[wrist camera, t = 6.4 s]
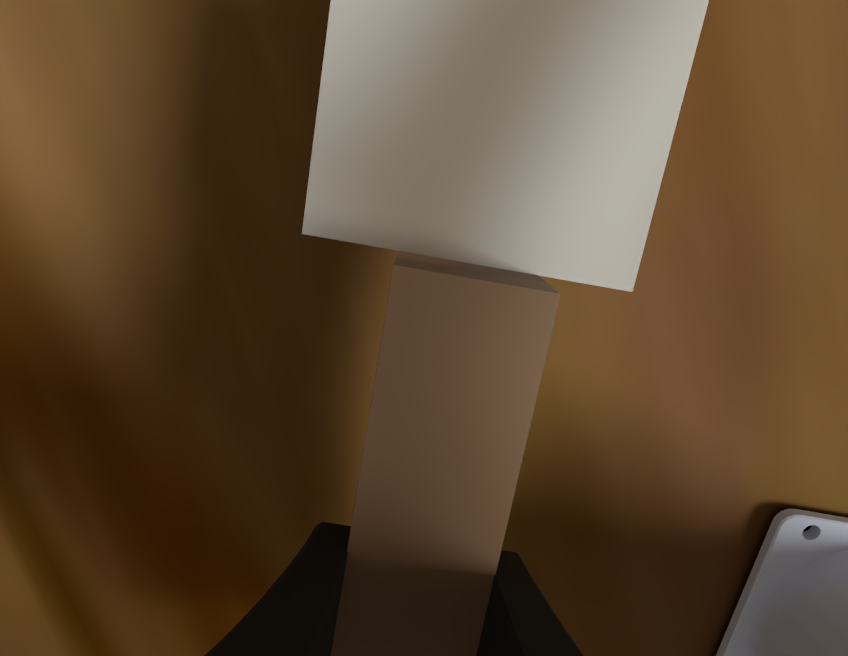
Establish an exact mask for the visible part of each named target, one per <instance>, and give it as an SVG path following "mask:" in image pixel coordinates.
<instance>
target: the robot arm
mask: <svg viewBox="0 0 848 656" xmlns="http://www.w3.org/2000/svg"><path fill="white" fill-rule="evenodd" d="M810 525H812V526H811V528H810V529H809V530H807V531H805V532H803V530H804V529H805V528H806V527H808V526H810ZM350 529H351V526H345V525H339V524H332V523H326V522H322V523H320V524H318V525H317V526H316V527H315V528H314V530H313V532H312V534H311V535H310V537H309V538H308V540H307V541H306V543H305V544H304V546H303V547H302V549H301V550H300V552H299V553H298V554H297V556H296V557H295V558H294V560H293V561H292V562H291V564H290V565H289V566H288V567H287V569H286V570H285V571H284V572H283V574H282V575H281V576H280V577H279V578H278V580H277V581H276V582H275V583H274V584H273V585H272V587H271V588H270V589H269V590H268V591H267V593H266V594H265V595H264V596H263V597H262V598H261V599H260V601H259V602H258V603H257V604H256V605H255V606H254V607H253V608H252V609H251V610H250V611H249V612H248V613H247V614H246V615H245V616H244V617H243V619H242V620H241V621H240V622H239V623H238V624H237V625H236V626H235V627H234V628H233V629H232V630H231V631H230V632H229V633H228V634H227V635H226V636H225V637H224V638H223V639H222V640H221V641H220V642H219V643H218V644H217V645H216V646H215V647H214V648H212V649H211V650H210V651H209V652H208V653H207V654H206V655H205V656H330V655H331V650H332V644H333V638H334V632H335V626H336V620H337V614H338V609H339V603H340V597H341V591H342V585H343V579H344V574H345V568H346V562H347V556H348V552H347V548H348V541H349V535H350ZM476 656H583V654H582V653H581V652H580V650H579V649H578V647H577V646H576V644H575V643H574V641H573V640H572V638H571V637H570V635H569V634H568V632H567V631H566V629H565V628H564V627H563V625H562V624H561V622H560V621H559V619H558V617H557V616H556V614H555V613H554V611H553V610H552V608H551V607H550V605H549V603H548V602H547V600H546V599H545V597H544V595H543V594H542V592H541V591H540V589H539V587H538V586H537V584H536V582H535V581H534V579H533V577H532V576H531V574H530V573H529V571H528V569H527V568H526V566H525V564H524V563H523V561H522V559H521V558H520V556H519V555H518V553H515V552H509V551H502V550H501V554H500V558H499V562H498V567H497V571H496V575H494V579H493V584H492V588H491V592H490V597H489V601H488V606H487V610H486V614H485V619H484V623H483V628H482V632H481V636H480V641H479V645H478V650H477V654H476ZM716 656H848V518H846V517H840V516H834V515H828V514H822V513H816V512H811V511H805V510H799V509H786V510H783V511H781V512H779V513H778V514H777V515H776V516H775V517H774V519H773V520H772V523H771V525H770V527H769V530H768V532H767V535H766V537H765V539H764V542H763V544H762V546H761V549H760V551H759V554H758V556H757V558H756V561H755V563H754V566H753V568H752V570H751V573H750V575H749V578H748V580H747V582H746V585H745V587H744V589H743V592H742V594H741V597H740V599H739V601H738V604H737V606H736V609H735V611H734V613H733V616H732V618H731V621H730V623H729V625H728V628H727V630H726V633H725V635H724V637H723V640H722V642H721V644H720V647H719V649H718V652H717V654H716Z"/></svg>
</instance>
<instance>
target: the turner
mask: <svg viewBox="0 0 848 656" xmlns="http://www.w3.org/2000/svg"><path fill="white" fill-rule="evenodd" d="M708 2H709V0H331V2H330V10H329V18H328V26H327V34H326V42H325V50H324V58H323V67H322V75H321V83H320V91H319V99H318V107H317V115H316V123H315V131H314V139H313V147H312V155H311V163H310V171H309V179H308V187H307V196H306V204H305V212H304V220H303V228H302V234H305V235H311V236H317V237H322V238H328V239H334V240H340V241H345V242H351V243H357V244H362V245H368V246H374V247H379V248H385V249H391V250H396V251H399V253H398V256H397V258H396V260H395V263H394V265H393V271H392V277H391V283H390V289H389V296H388V302H387V308H386V314H385V320H384V326H383V332H382V339H381V345H380V351H379V357H378V363H377V369H376V376H375V382H374V388H373V394H372V400H371V406H370V412H369V419H368V425H367V431H366V437H365V443H364V449H363V455H362V462H361V468H360V474H359V480H358V486H357V492H356V498H355V505H354V511H353V517H352V523H351V529H350V535H349V541H348V548H347V552H348V556H347V562H346V568H345V574H344V579H343V585H342V591H341V597H340V603H339V609H338V614H337V620H336V626H335V632H334V638H333V644H332V650H331V655H330V656H476V654H477V650H478V645H479V641H480V636H481V632H482V628H483V623H484V619H485V614H486V610H487V606H488V601H489V597H490V592H491V588H492V584H493V579H494V575H496V571H497V567H498V562H499V558H500V554H501V549H502V545H503V541H504V537H505V532H506V528H507V524H508V519H509V515H510V511H511V507H512V502H513V498H514V494H515V489H516V485H517V481H518V477H519V472H520V468H521V464H522V459H523V455H524V451H525V447H526V442H527V438H528V434H529V429H530V425H531V421H532V417H533V412H534V408H535V404H536V399H537V395H538V391H539V387H540V382H541V378H542V374H543V369H544V365H545V361H546V357H547V352H548V348H549V344H550V339H551V335H552V331H553V327H554V322H555V318H556V314H557V309H558V305H559V301H560V297H561V293H559V292H558V291H557V290H555V289H554V288H553V287H552V286H550V285H549V284H548V283H547V282H545V281H544V280H543V279H541V278H540V277H539V276H545V277H550V278H556V279H562V280H567V281H573V282H579V283H585V284H590V285H596V286H602V287H607V288H613V289H619V290H624V291H630V292H633V288H634V284H635V280H636V276H637V272H638V269H639V265H640V261H641V257H642V253H643V250H644V246H645V242H646V238H647V234H648V231H649V227H650V223H651V219H652V215H653V211H654V208H655V204H656V200H657V196H658V192H659V189H660V185H661V181H662V177H663V173H664V169H665V166H666V162H667V158H668V154H669V150H670V147H671V143H672V139H673V135H674V131H675V128H676V124H677V120H678V116H679V112H680V108H681V105H682V101H683V97H684V93H685V89H686V86H687V82H688V78H689V74H690V70H691V67H692V63H693V59H694V55H695V51H696V47H697V44H698V40H699V36H700V32H701V28H702V25H703V21H704V17H705V13H706V9H707V6H708ZM538 275H539V276H538Z"/></svg>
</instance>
